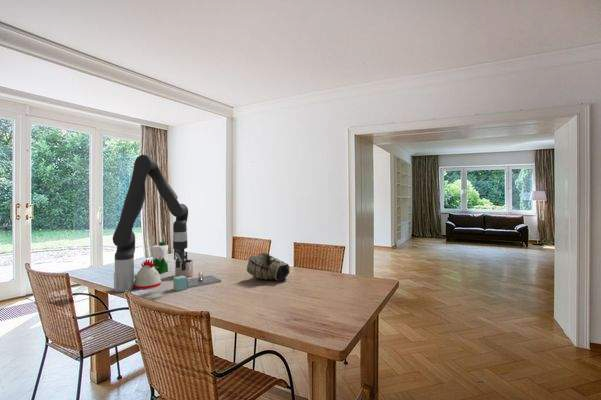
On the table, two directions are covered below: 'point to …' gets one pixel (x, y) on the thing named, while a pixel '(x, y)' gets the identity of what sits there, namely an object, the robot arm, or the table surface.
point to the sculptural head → (267, 267)
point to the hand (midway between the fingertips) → (180, 269)
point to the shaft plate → (201, 280)
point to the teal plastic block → (179, 283)
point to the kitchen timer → (147, 276)
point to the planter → (187, 272)
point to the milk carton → (160, 257)
